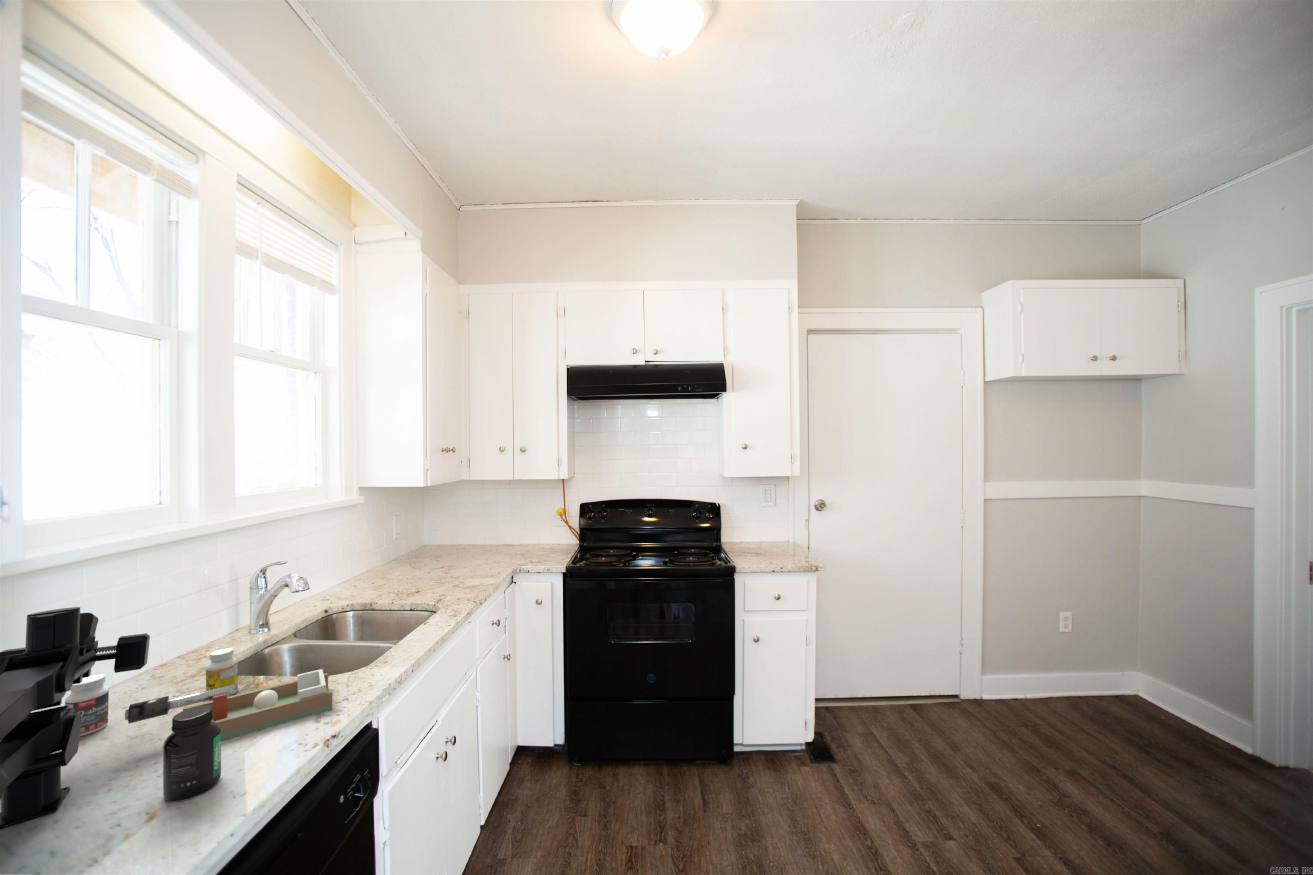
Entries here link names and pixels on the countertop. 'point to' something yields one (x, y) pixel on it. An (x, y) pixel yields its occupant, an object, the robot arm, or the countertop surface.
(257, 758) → the countertop surface
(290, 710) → the tray
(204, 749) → the supplement bottle
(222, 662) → the supplement bottle
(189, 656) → the countertop surface
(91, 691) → the pill bottle
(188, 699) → the rod
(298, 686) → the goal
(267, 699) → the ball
